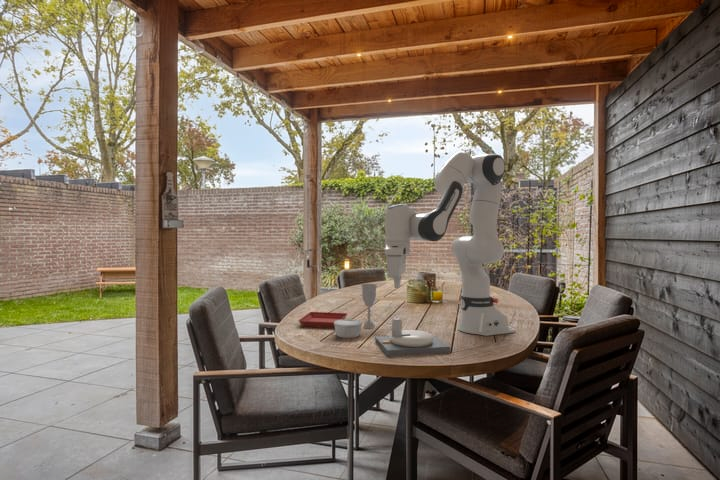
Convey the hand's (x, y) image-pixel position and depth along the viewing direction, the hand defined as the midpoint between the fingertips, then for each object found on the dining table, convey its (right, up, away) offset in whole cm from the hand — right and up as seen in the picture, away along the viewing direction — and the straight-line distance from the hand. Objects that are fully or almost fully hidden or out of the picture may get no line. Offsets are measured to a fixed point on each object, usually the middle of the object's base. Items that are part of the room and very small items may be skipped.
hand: (397, 287), depth 148 cm
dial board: (+5, -21, -2) cm, 21 cm away
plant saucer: (-30, -20, +35) cm, 50 cm away
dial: (+5, -19, -2) cm, 19 cm away
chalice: (-10, -20, +28) cm, 36 cm away
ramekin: (-18, -21, +15) cm, 31 cm away
